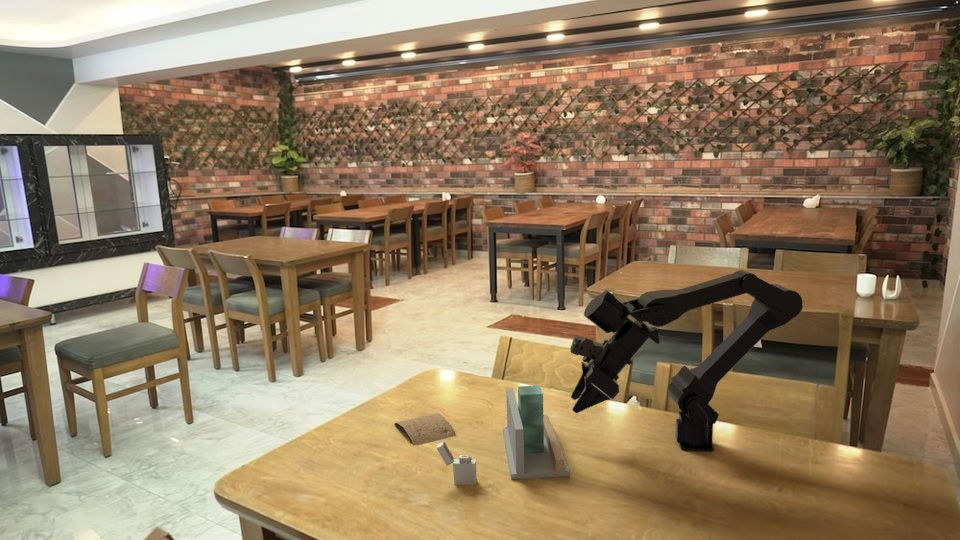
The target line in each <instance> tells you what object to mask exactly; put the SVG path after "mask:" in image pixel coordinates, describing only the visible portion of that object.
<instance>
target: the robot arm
mask: <svg viewBox="0 0 960 540" xmlns="http://www.w3.org/2000/svg"><path fill="white" fill-rule="evenodd" d="M744 294H747V295H749V296H751V297H752V298H754V299H753V301H752V303H751V306H750V309H749V312H748V315H747V316H746V317H745V318H744V319H743V320H742V321H741V322H740V323H739V324H738V325H737V326H736V327H735V328H734V330H732V332H730V333H729V334H728V335H727V337H726V338H725V339H723V341H721V343H720V344H719V345H718V346H717V347H716V348H715V349H714V350H713V351H712V352H711V353H710V354H709V355H708V356H707V357H706V358H705V359H704V360H703V361H702V362H701V363H700V364H699V365H698V366H696V367H695V366H694V367H693V368H690V369H689V367H687V365H683V366H682V367H681V368H680V369H679V371H678V372H677V373H676V374H675V375H674V376H672V377H670V380H671V381H670V383H669V384H668V387H667V391H668V392H667V393H668V397H669V399H670V400H671V401H672V403H674V405H676V407H677V409H679V410H680V411H678V418H676V419H675V433H674V434H675V440H676V442H677V443H678V444H679V448H680V449H681V450H683V451H685V450H686V451H687V450H688V451H706V452H707V451H710V452H714V451H715V447H714V445H713V435H714V432H713V431H714V424H717V420H718V417H719V413H718V412H717V411H716V410H715V409H714V408H713V407H712V406H711V405H710V402H711V401H712V400H713V397H714V395H715V392H716V389H717V386H718V383H719V382H720V381H721V380H722V379H723V378H724V377H725V376H726V375H727V374H728V373H729V372H730V371H731V370H732V369H733V368H734V367H735V366H736V365H737V364H738V363H739V362H740V361H741V360H742V359H743V358H744V357H745V356H747V354H748V352H750V351H751V350H752V348H754V347H755V346H756V345H757V344H758V343H759V342H760V340H762V339H763V338H764V337H765V336H766V335H767V334H768V333H769V332H770V331H773V330H776V329H778V328H781V327H784V326H785V325H787V324H788V323H789V322H791V321H792V320H793V319H795V318H796V317H798V316H799V315H800V313H801V312H802V311H803V308H804V306H803V304H804V303H803V298H802V296H801V295H800V293H798V292H797V291H796V290H793V289H790V288H788V287H785V286H783V285H781V284H777V283H769V282H767V281H765V280H764V279H762V278H760V277H758V276H757V275H756V274H755V273H752V272H751V271H747V270H744V269H740V270H737V271H734V272H733V273H730V274H727V275H723V276H719V277H717V278H712V279H710V280H707V281H703V282H699V283H697V284H693V285H690V286H687V287H684V288H679V289H659V290H652V291H646V292H644V293H642V294H641V295H640V296H639V297H638V298H634V299H631V300H628V301H623V302H621V301H620V300H619V299H617V298H616V297H615V295H614V294H612V292H610V291H609V290H607V289H605V290H603V292H602V293H601V294H598V295H597V296H596V297H594V298H592V299H591V300H590V301H589V303H588V304H587V306H586V307H585V309H584V312H583V317H585V318H586V319H588V320H589V321H590V322H591V323H593V324H594V325H595V326H597V327H598V328H599V329H600V330H601V331H603V332H604V333H605V334H609V333H612V334H613V335H612V336H611V337H610V338H609V339H608V338H607V339H604V340H603V341H602V342H601V343H600V342H599V341H598V342H597V341H595V340H593V339H592V338H587V336H581V335H578V334H574V337H573V339H572V342H571V345H570V347H569V349H570V353H571V354H574V355H576V356H582V358H581V359H582V361H581V375H580V377H579V379H578V381H577V383H576V385H575V387H574V389H573V391H572V393H571V395H570V398H571V399H572V400H574V401H576V402H575V404H574V406H573V407H572V412H574V413H575V414H578V413H581V412H583V411H586V410H587V409H590V408H591V407H593V406H595V405H598V404H600V403H603V402H605V401H610V400H614V399H615V398H616V397H617V395H618V394H619V393H620V386H619V383H618V381H617V380H619V378H620V376H619V375H620V374H621V372H622V371H623V370H624V369H625V367H626V366H627V365H628V366H631V364H632V363H633V360H632V359H633V358H634V356H635V355H636V354H637V353H638V352H639V351H640V350H641V348H642V347H643V346H644V345H645V344H646V343H647V341H649V339H650V340H651V341H653V342H654V343H655V344H657V345H659V344H660V343H661V341H660V336H659V333H660V330H659V329H658V328H659V327H664V326H666V325H668V324H670V323H673V322H675V321H677V320H678V319H680V318H682V316H683V315H685V314H687V312H690V311H692V310H695V309H698V308H699V309H700V308H701V307H705V306H707V305H708V306H709V305H711V304H714V303H718V302H721V301H724V300H727V299H728V300H729V299H731V298H734V297H737V296H738V297H739V296H742V295H744ZM629 316H630V317H632V318H633V319H634V320H633V319H631V318H630V317H629ZM646 323H648V324H649V325H651V326H653V327H650V326H648V325H647V324H646Z"/></svg>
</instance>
